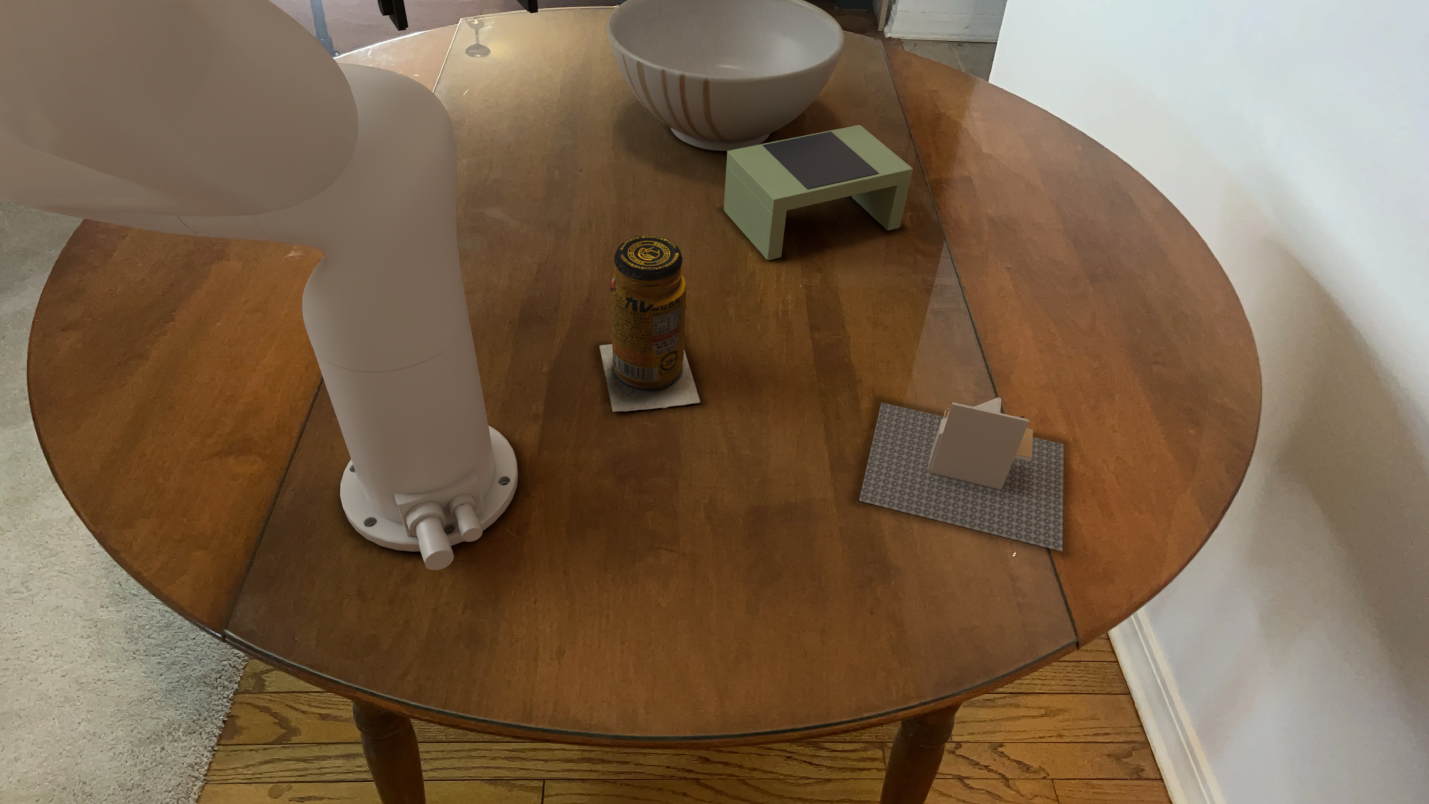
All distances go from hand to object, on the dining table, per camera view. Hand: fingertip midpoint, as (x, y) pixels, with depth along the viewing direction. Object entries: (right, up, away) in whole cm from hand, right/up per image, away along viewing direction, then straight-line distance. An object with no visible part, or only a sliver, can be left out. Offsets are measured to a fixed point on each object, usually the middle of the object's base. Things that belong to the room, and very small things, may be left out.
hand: (464, 15), depth 67 cm
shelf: (+29, -9, +29) cm, 42 cm away
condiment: (+13, -26, +11) cm, 31 cm away
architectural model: (+38, -34, +4) cm, 51 cm away
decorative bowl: (+19, +5, +43) cm, 48 cm away
